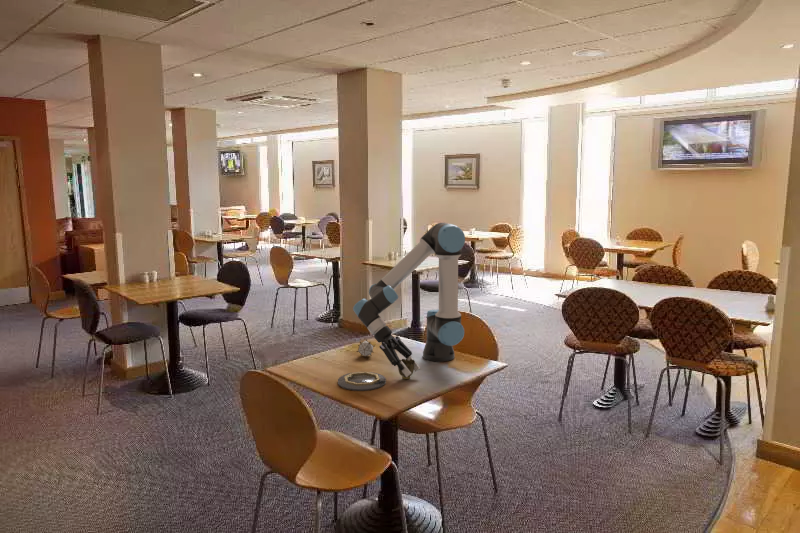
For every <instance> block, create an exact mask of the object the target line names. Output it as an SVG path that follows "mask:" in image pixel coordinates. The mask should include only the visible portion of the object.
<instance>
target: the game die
mask: <svg viewBox="0 0 800 533" xmlns="http://www.w3.org/2000/svg"><path fill="white" fill-rule="evenodd" d="M357 346H358V349H357V350H356V353H358V354H359V353H360V356H363V357H364V359H366V357H368V356H371V357H372V353H374V347H375V345H373V344H372V342H371V341H368V339H367V338H366V339H365V340H364V341H362V342H361V341H359V344H357Z"/></svg>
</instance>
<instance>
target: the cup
mask: <svg viewBox="0 0 800 533" xmlns="http://www.w3.org/2000/svg"><path fill="white" fill-rule="evenodd" d="M399 360H400V362H401V361H402V362H403V363H404V364H405V366H406V367H407V368H408V369H409V371H410V372H411V374H410V375H409V376H408V377H406V376H405V375H404V373H403V372H402V371H401V370H400V369H399V367H398V366H397V369H398V373H399V375H400V376H401V378H402V380H403V381H409V380H410V379H411V376H412V375H413V374H414V372H415V371H414V365H415V362H416V360H415V359H414V360H412V359H410V361H408V360H407V359H406V358H402V359H399Z"/></svg>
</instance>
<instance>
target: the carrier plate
mask: <svg viewBox="0 0 800 533" xmlns="http://www.w3.org/2000/svg"><path fill="white" fill-rule="evenodd" d="M386 380H387V378H386V377H385V375H383V374H380V373H378V372H372V371H355V372H349V373H348V372H347V373H346V374H343V375H341V376H340V377H339V378H337V384H338V387H340V388H342V389H345V390H348V391H352V392H353V391H354V392H355V391H356V392H367V391H373V390H378V389H380V388H383V387H384V386H385V385H386V383H387V381H386Z"/></svg>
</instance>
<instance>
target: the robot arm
mask: <svg viewBox="0 0 800 533" xmlns="http://www.w3.org/2000/svg"><path fill="white" fill-rule="evenodd" d="M465 242H466V236H465V233H464V231H463V230H462V228H460V226H458V225H456V224H453V223H448V222H438V223H436V224H434V225H433V226H432V227H430V229H428V230H427V231H426V232H425V233H424V234H423V235H422V236H421V237H420V238H419V242H418V243H417V244H416V245H415V246H414V247H413V248H412V249H411V250H410V251H409V252H408V253H407V254H406V255H405V256H404V257H403V258H402V259H401V260H400V261H399V262H397V264H395V266H393V267H392V268H391V270H389V271H388V272H387V273H386V274H385V275H384V276H383V277H381V279H380V280H379V281H378V282H377V283H373V284H372V285H370V286H369V289H368V294H369V296H370V298H369V299H367V298H362V299H360V300H358V301H357V302H356V303H355V304H354V305H353V307H352V310H353V312H354V313H355V315H356V316H357V318H358V319H359V320H360V321H361V322H362V324H363V325H364V326H365V327H366V329H367V330H368V331H369V333H370V334H371V335H372V336H373V338H374V339H375V341H377V343H381V344H380V345H379V349H380V350H381V351H382V352H383V353H384V355H385V357H386V358H387V359H388V361H389V362H390V364H391V365H392V366H394V367H397V368H398V367H399V369H400V370H401V371H402V372H403V373H404V375H405V376H406V377H408V376H409V375H410V374H411V372H410V371H409V369H408V368H407V367H406V366H405V364H404V363H403V362H402V361H401V362H400V360H401V359H400V358H399V356H398V354H397V352H398V353H399V354H400V355H401V356H402V357H403V358H404V359H407V360H408V361H410V359H412V360H414V361H415V359H414V357H412V355H413V351H412V350H410V348H409V347H408V346H407V345H406V344H405V343H404V342H403V341H402V340H401V338H400V337H399V336H398V335H396V336H393V335H392V333H393V331H392V330H391V328H390V327H389V326H388V325H387V323H386V322H385V321H384V319H383V318H382V317H381V316H380V314H381V313H382V312H384V310H386V309H387V308H388V307H390V306H391V305H392V304H394V303H395V302H396V301H397V300H398V299H399V295H398V293H397V292H396V291H395V289H396V288H398V286H399V285H401V284H402V283H403V282H404V281H405V280H406V279H407V278H408V277H409V276H410V275H411V274H412V273H413V272H414V271H415V270H416V269H417V268H418V267H419V266H420V265H421V264H422V263H423V262H424V261H425V260H427V259H428V258H429V257H430V256H431V255H434V254H435V256H436V258H438V308H437V309H430V310H427V312H426V342H425V346H424V347H423V351H422V358H423V359H425V360H426V361H430V362H449V361H453V360H454V359H455V356H456V354H455V351H454V346H456V345H458V344H460V342H462V340H463V338H464V336H465V328H464V325H462V313H460V312H459V258H460V257H461V256H462V254H463V253H462V250H463V247H464V246H465V244H466V243H465ZM420 368H421V366H420V365H419V364H418V363H417V361H415V365H414V372H417V371H418V370H419V369H420Z"/></svg>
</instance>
